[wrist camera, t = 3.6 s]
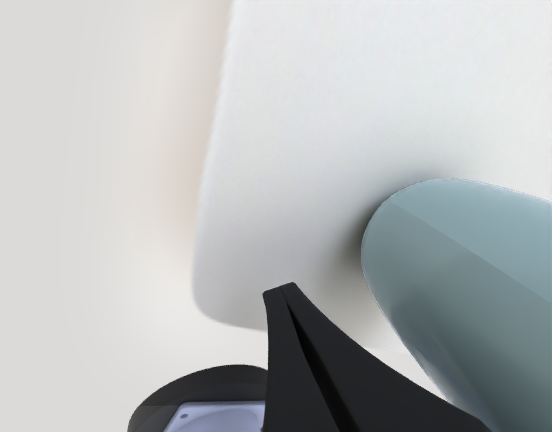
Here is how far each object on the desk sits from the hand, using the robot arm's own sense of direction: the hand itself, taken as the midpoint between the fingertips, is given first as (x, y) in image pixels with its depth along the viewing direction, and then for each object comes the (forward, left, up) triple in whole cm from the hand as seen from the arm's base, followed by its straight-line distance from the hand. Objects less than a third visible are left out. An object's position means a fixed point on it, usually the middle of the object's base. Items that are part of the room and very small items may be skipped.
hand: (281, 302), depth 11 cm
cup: (+5, -6, -3) cm, 8 cm away
